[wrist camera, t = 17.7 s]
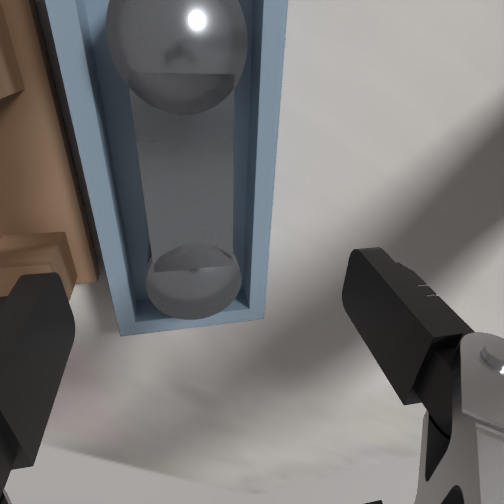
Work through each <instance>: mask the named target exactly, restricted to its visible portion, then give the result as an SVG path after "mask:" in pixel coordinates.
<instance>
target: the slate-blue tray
mask: <svg viewBox="0 0 504 504" xmlns="http://www.w3.org/2000/svg"><path fill="white" fill-rule="evenodd" d="M238 2H239V4H240V6H241V9H242V12H243V15H244V19H245V23H246V29H247V41H248V46H247V56H246V61H245V66H244V69H243V72H242V74H241V77H240V79H239V81H238V83H237V84H236V86H235V88H234V162H233V250H234V253H235V256H236V259H237V262H238V265H239V268H240V272H241V287H240V290H239V292H238V294H237V296H236V298H235V299H234V300H233V302H232V303H231V304H230V305H229V306H228V307H226V308H225V309H224V310H222V311H221V312H219V313H217V314H215V315H213V316H210V317H207V318H203V319H197V320H184V319H178V318H174V317H171V316H169V315H166V314H164V313H163V312H161V311H160V310H159V309H157V308H156V307H155V306H154V304H153V303H152V302H151V300H150V299H149V296H148V294H147V290H146V277H147V262H148V248H149V242H150V238H149V231H148V224H147V216H146V209H145V202H144V195H143V187H142V180H141V173H140V166H139V158H138V151H137V144H136V137H135V129H134V122H133V115H132V108H131V100H130V93H129V87H128V85H127V84H126V83H125V81H124V80H123V79H122V77H121V75H120V74H119V72H118V70H117V68H116V66H115V64H114V62H113V59H112V56H111V53H110V50H109V46H108V41H107V33H106V15H107V8H108V4H109V0H45V3H46V7H47V12H48V16H49V21H50V25H51V29H52V34H53V38H54V43H55V47H56V52H57V56H58V61H59V65H60V70H61V74H62V78H63V83H64V87H65V92H66V96H67V101H68V105H69V110H70V114H71V118H72V123H73V127H74V132H75V136H76V141H77V145H78V150H79V154H80V158H81V163H82V167H83V172H84V176H85V181H86V185H87V190H88V194H89V198H90V203H91V207H92V212H93V216H94V221H95V225H96V230H97V234H98V239H99V243H100V247H101V252H102V256H103V261H104V265H105V270H106V274H107V279H108V283H109V287H110V292H111V296H112V301H113V305H114V310H115V314H116V319H117V323H118V327H119V332H120V336H128V335H136V334H144V333H152V332H160V331H168V330H176V329H185V328H193V327H201V326H209V325H217V324H225V323H233V322H241V321H250V320H258V319H264V309H265V296H266V283H267V270H268V257H269V244H270V231H271V218H272V205H273V191H274V178H275V165H276V152H277V139H278V126H279V113H280V100H281V87H282V74H283V61H284V48H285V35H286V22H287V8H288V0H238Z"/></svg>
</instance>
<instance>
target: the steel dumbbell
mask: <svg viewBox="0 0 504 504" xmlns="http://www.w3.org/2000/svg"><path fill="white" fill-rule="evenodd" d="M106 33H107V41H108V46H109V50H110V53H111V56H112V59H113V62H114V64H115V66H116V68H117V70H118V72H119V74H120V75H121V77H122V79H123V80H124V81H125V83H126V84H127V85H128V87H129V93H130V100H131V108H132V115H133V122H134V129H135V137H136V144H137V151H138V158H139V166H140V173H141V180H142V187H143V195H144V202H145V209H146V216H147V224H148V231H149V238H150V242H149V248H148V262H147V277H146V290H147V294H148V296H149V299H150V300H151V302H152V303H153V304H154V306H155V307H156V308H157V309H159V310H160V311H161V312H163V313H164V314H166V315H169V316H171V317H174V318H178V319H184V320H197V319H203V318H207V317H210V316H213V315H215V314H217V313H219V312H221V311H222V310H224V309H225V308H226V307H228V306H229V305H230V304H231V303H232V302H233V300H234V299H235V298H236V296H237V294H238V292H239V290H240V287H241V272H240V268H239V265H238V262H237V259H236V256H235V253H234V250H233V162H234V88H235V86H236V84H237V83H238V81H239V79H240V77H241V74H242V72H243V69H244V66H245V61H246V56H247V46H248V41H247V29H246V23H245V19H244V15H243V12H242V9H241V6H240V4H239V2H238V0H109V4H108V8H107V15H106Z"/></svg>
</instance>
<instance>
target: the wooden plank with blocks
mask: <svg viewBox="0 0 504 504" xmlns="http://www.w3.org/2000/svg"><path fill="white" fill-rule="evenodd" d="M50 272H56V273H58V274H59V275H60V277H61V280H62V283H63V286H64V289H65V292H66V295H67V298H68V301H69V300H70V297H71V294H72V292H73V289H74V286H75V284H80V283H91V282H98V279H99V275H100V273H99V269H98V265H97V261H96V257H95V252H94V248H93V244H92V240H91V236H90V231H89V227H88V223H87V219H86V215H85V210H84V206H83V202H82V198H81V194H80V189H79V185H78V181H77V177H76V173H75V168H74V164H73V160H72V156H71V151H70V147H69V143H68V139H67V135H66V130H65V126H64V122H63V118H62V114H61V109H60V105H59V101H58V97H57V93H56V88H55V84H54V80H53V76H52V72H51V67H50V63H49V59H48V55H47V51H46V46H45V42H44V38H43V34H42V29H41V25H40V21H39V17H38V13H37V8H36V4H35V0H0V297H3V296H8V295H9V293H10V291H11V290H12V288H13V287H14V285H15V284H16V282H17V280H18V279H19V277H20V276H22V275H25V274H38V273H50Z"/></svg>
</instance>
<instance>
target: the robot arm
mask: <svg viewBox="0 0 504 504" xmlns="http://www.w3.org/2000/svg"><path fill="white" fill-rule="evenodd" d="M342 300H343V305H344V308H345V311H346V312H347V314H348V316H349V317H350V319H351V321H352V322H353V324H354V325H355V327H356V329H357V330H358V332H359V333H360V335H361V337H362V338H363V340H364V342H365V343H366V345H367V346H368V348H369V350H370V351H371V353H372V354H373V356H374V358H375V359H376V361H377V363H378V364H379V366H380V367H381V369H382V371H383V372H384V374H385V376H386V377H387V379H388V380H389V382H390V384H391V385H392V387H393V388H394V390H395V392H396V393H397V395H398V397H399V398H400V400H401V401H402V403H403V405H409V404H415V403H421V402H422V403H423V405H424V406H425V408H426V409H427V410H426V412H425V414H424V418H423V428H422V441H421V453H420V466H419V480H418V489H417V495H416V499H415V502H414V504H504V339H503V338H501V337H498V336H495V335H492V334H488V333H481V332H474V331H473V330H472V329H471V328H470V327H469V326H468V325H467V324H466V323H465V322H464V321H463V320H462V319H461V318H460V317H459V316H458V315H457V314H456V313H455V312H454V311H453V310H452V309H451V308H450V307H449V306H448V305H447V304H446V303H445V302H444V301H443V300H442V299H441V298H440V297H439V296H436V293H435V292H434V291H433V290H432V289H431V288H430V287H429V286H426V283H425V282H424V281H423V280H422V279H421V278H420V277H419V276H418V275H417V274H416V273H415V272H413V271H412V270H410V269H408V268H407V267H405V266H403V265H401V264H400V263H395V262H394V261H393V260H392V259H391V258H390V256H389V255H388V254H387V253H386V252H385V251H384V250H383V249H381V248H379V247H377V248H365V249H354V250H353V251H352V252H351V254H350V258H349V262H348V267H347V272H346V276H345V281H344V286H343V290H342ZM74 337H75V321H74V316H73V313H72V310H71V307H70V304H69V301H68V298H67V295H66V292H65V289H64V286H63V283H62V280H61V277H60V275H59V274H58V273H56V272H50V273H38V274H25V275H22V276H20V277H19V279H18V280H17V282H16V284H15V285H14V287H13V288H12V290H11V291H10V293H9V295H8V296H3V297H0V504H12V503H11V501H10V499H9V497H8V495H7V493H6V491H5V490H4V487H5V485H6V482H7V479H8V477H9V474H10V471H11V470H12V469H19V468H25V467H31V466H33V465H34V462H35V459H36V456H37V452H38V450H39V447H40V444H41V441H42V437H43V434H44V431H45V428H46V425H47V422H48V419H49V416H50V413H51V410H52V407H53V404H54V400H55V397H56V394H57V391H58V388H59V385H60V382H61V379H62V376H63V373H64V370H65V366H66V363H67V360H68V357H69V354H70V351H71V348H72V345H73V342H74ZM366 504H383V503H382V501H381V500H379V501H374V502H370V503H366Z"/></svg>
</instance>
